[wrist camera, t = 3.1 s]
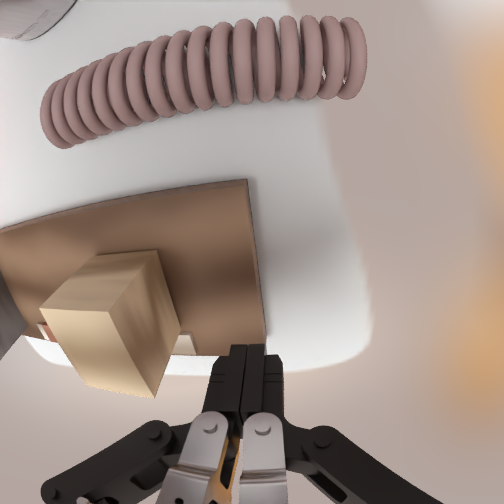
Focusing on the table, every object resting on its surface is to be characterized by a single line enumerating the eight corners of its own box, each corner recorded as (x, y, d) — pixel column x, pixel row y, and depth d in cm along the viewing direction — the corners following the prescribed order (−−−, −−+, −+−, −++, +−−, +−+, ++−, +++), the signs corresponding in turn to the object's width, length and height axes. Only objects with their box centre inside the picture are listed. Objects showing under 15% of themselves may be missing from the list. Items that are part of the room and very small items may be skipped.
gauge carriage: (64, 259, 16) (12, 305, 11) (156, 249, 16) (108, 311, 10) (104, 346, 20) (74, 399, 15) (189, 352, 19) (169, 419, 14)
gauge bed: (-11, 232, 19) (-72, 277, 10) (246, 178, 16) (212, 255, 7) (29, 324, 24) (-14, 379, 15) (266, 336, 21) (260, 454, 12)
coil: (40, 160, 12) (385, 102, 10) (27, 88, 9) (374, 8, 7) (83, 142, 15) (355, 99, 14) (73, 83, 13) (347, 29, 11)
